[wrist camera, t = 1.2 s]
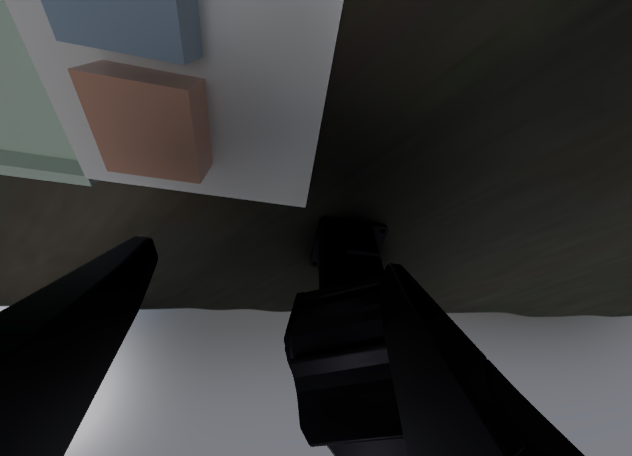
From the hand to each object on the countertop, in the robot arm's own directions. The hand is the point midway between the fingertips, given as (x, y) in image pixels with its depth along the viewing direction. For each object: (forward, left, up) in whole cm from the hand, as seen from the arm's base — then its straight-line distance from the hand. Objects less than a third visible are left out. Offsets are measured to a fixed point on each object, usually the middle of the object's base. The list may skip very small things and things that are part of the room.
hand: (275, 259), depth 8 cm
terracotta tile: (0, +7, -10) cm, 12 cm away
